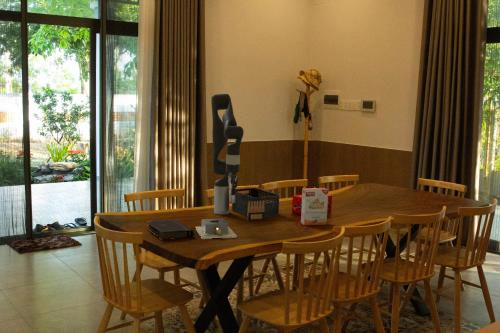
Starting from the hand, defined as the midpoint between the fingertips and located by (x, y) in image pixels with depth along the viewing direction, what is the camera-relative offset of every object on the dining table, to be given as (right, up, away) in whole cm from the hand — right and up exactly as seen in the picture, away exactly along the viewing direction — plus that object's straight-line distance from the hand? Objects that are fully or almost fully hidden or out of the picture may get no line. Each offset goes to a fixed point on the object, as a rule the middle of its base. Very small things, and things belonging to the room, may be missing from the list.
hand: (232, 194), depth 307 cm
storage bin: (+13, -14, +45) cm, 49 cm away
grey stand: (-9, -20, -7) cm, 23 cm away
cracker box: (+46, -18, +19) cm, 54 cm away
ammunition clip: (+13, -17, +25) cm, 33 cm away
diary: (-33, -21, -9) cm, 40 cm away
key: (0, -4, +1) cm, 4 cm away
